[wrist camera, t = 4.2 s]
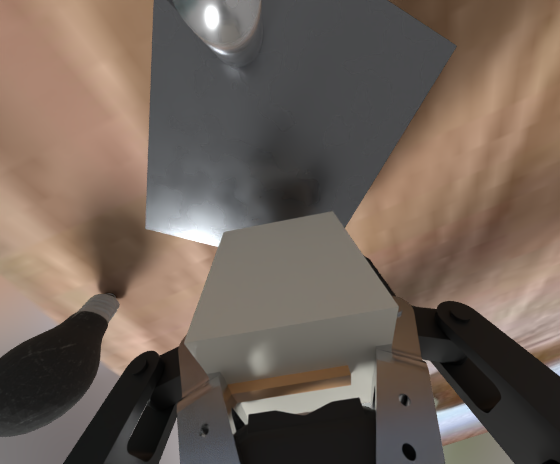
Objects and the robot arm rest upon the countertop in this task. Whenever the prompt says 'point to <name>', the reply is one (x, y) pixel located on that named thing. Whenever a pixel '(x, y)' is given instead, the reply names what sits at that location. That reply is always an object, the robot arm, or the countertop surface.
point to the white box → (292, 316)
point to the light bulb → (53, 368)
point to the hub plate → (277, 108)
